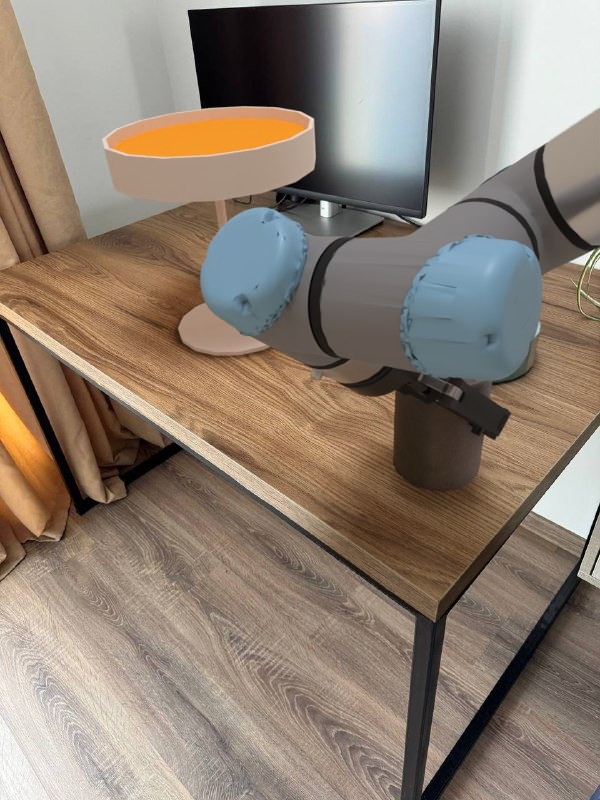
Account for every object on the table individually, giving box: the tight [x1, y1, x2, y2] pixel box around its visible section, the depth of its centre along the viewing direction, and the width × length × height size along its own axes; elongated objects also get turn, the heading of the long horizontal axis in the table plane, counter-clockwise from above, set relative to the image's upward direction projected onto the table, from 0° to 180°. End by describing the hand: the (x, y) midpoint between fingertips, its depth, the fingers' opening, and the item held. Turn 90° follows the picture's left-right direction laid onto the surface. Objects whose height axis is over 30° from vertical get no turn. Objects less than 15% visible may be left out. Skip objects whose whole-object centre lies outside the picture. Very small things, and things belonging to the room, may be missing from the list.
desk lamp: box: [101, 105, 317, 357], centre depth 91 cm, size 30×30×31 cm
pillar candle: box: [392, 377, 493, 492], centre depth 62 cm, size 10×10×15 cm
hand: (456, 407), depth 65 cm, fingers closed on pillar candle, 10 cm apart
